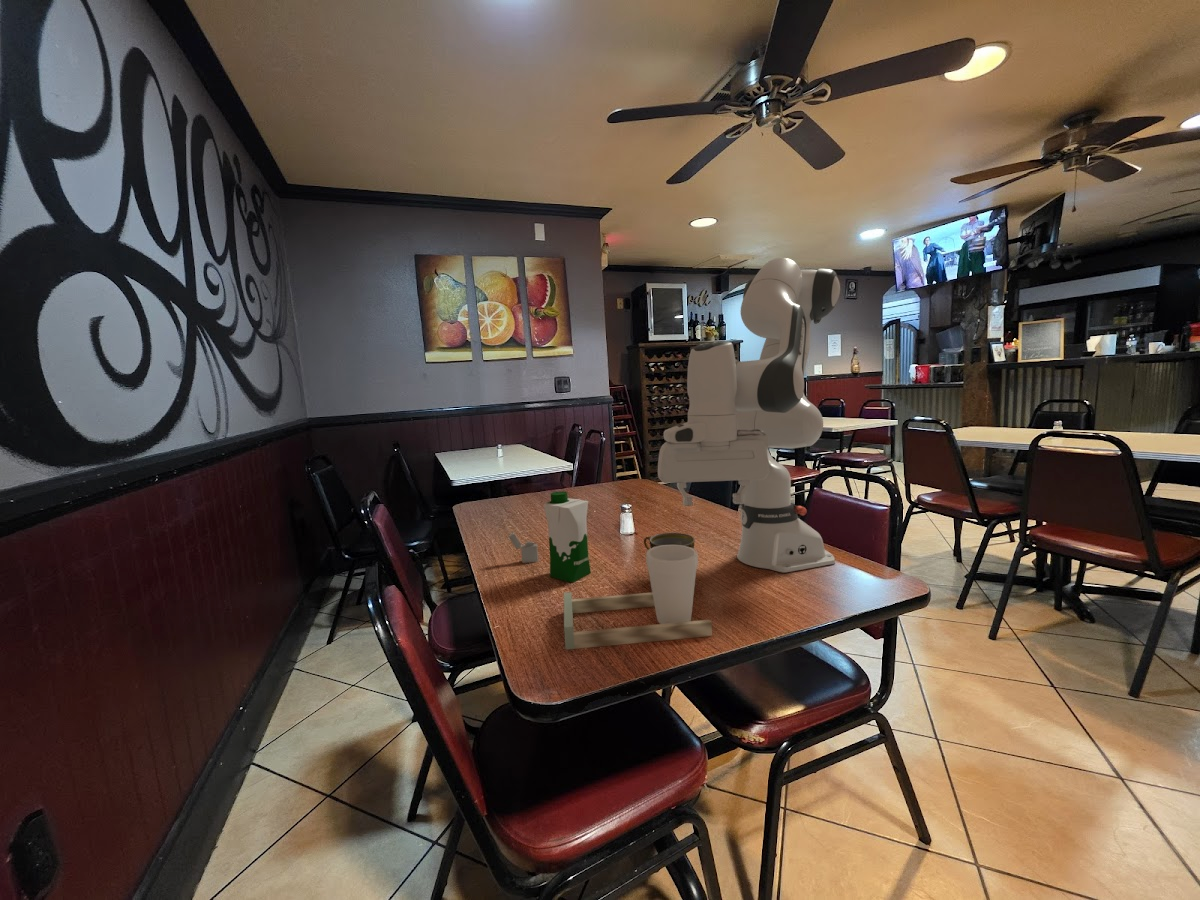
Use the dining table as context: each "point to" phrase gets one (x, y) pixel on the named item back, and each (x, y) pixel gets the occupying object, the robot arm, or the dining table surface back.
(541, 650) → the dining table surface
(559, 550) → the milk carton
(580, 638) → the guide channel
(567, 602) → the stop block
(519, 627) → the dining table surface
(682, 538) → the ceramic cup
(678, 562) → the foam cup
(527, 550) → the lighter
